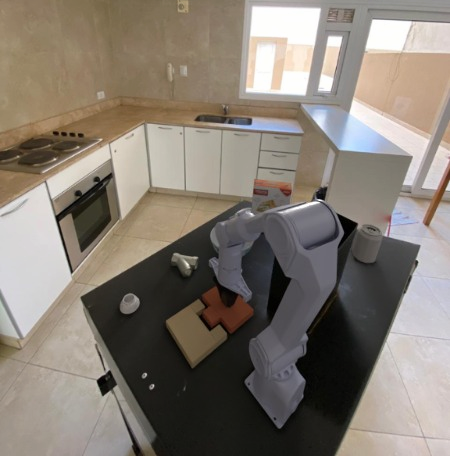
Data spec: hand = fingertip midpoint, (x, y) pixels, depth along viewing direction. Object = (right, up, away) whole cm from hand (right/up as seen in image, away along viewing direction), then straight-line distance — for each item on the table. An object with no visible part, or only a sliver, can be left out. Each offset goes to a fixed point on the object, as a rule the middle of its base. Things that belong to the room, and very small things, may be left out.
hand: (227, 301), depth 68 cm
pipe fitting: (-14, +2, +13) cm, 19 cm away
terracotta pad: (-1, -3, 0) cm, 3 cm away
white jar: (-27, -2, +1) cm, 27 cm away
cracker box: (+16, +9, +34) cm, 38 cm away
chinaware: (+2, +5, +21) cm, 21 cm away
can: (+48, +3, +22) cm, 53 cm away
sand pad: (-8, -5, -5) cm, 11 cm away
